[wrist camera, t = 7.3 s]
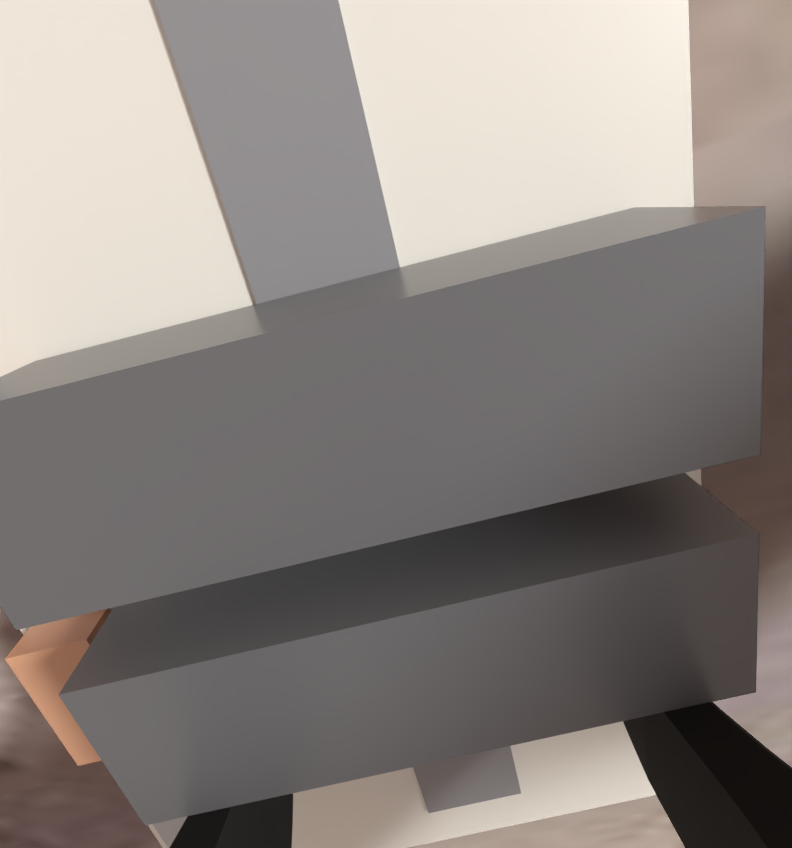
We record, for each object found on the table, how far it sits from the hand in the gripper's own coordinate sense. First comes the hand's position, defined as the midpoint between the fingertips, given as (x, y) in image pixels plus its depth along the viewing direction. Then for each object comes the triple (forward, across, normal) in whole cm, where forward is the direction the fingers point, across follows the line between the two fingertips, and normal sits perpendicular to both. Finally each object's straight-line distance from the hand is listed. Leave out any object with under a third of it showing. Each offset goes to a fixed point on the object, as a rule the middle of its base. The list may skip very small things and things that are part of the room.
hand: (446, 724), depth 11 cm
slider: (+1, 0, -3) cm, 3 cm away
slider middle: (+1, 0, -7) cm, 7 cm away
